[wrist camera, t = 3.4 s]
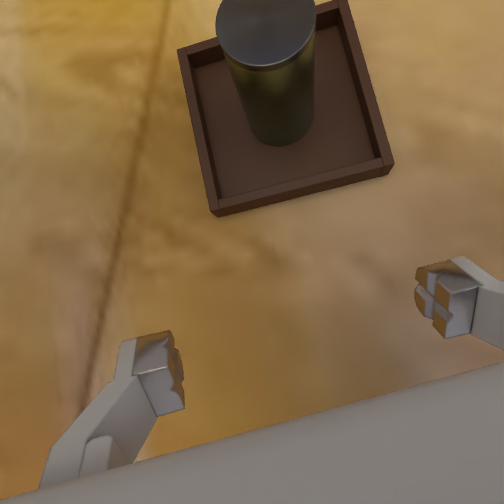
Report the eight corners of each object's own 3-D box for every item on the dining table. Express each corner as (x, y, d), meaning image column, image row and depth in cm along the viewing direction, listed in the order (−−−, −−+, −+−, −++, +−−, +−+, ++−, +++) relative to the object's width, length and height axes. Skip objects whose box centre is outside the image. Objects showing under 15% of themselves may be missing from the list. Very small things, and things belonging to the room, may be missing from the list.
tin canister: (255, 154, 32) (226, 78, 21) (241, 94, 33) (206, -10, 22) (321, 136, 32) (327, 48, 20) (305, 75, 32) (302, -42, 21)
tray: (217, 217, 33) (210, 211, 30) (185, 66, 35) (176, 49, 32) (388, 174, 31) (395, 163, 28) (343, 17, 33) (346, -5, 31)
